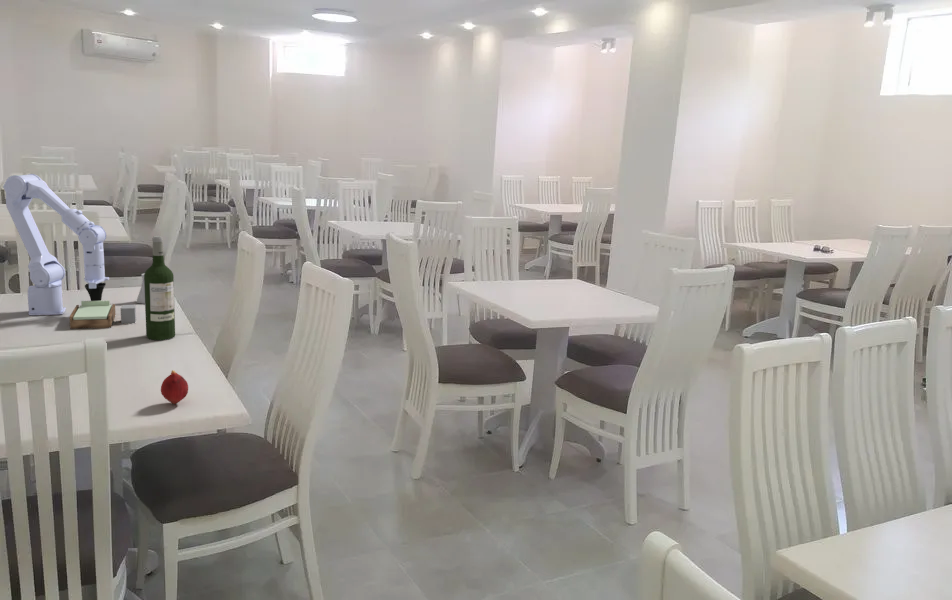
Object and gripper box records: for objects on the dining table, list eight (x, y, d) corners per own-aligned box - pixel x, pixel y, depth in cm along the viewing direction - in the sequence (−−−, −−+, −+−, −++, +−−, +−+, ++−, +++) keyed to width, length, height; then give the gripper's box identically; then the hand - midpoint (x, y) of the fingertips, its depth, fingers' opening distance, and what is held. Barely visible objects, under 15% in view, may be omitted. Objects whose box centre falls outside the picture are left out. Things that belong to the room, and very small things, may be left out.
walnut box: (70, 328, 221) (69, 316, 220) (77, 316, 235) (76, 304, 234) (110, 327, 225) (110, 315, 224) (115, 315, 238) (115, 304, 238)
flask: (153, 305, 255) (152, 276, 253) (132, 303, 255) (130, 275, 253) (162, 300, 262) (161, 272, 260) (141, 299, 262) (140, 271, 260)
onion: (193, 400, 171) (192, 367, 170) (181, 409, 166) (180, 375, 164) (168, 398, 172) (167, 365, 170) (156, 407, 166) (155, 373, 164)
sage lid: (73, 319, 221) (73, 312, 220) (80, 307, 234) (79, 300, 234) (106, 318, 224) (106, 311, 223) (111, 307, 237) (111, 300, 237)
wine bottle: (157, 342, 213) (153, 239, 207) (140, 336, 217) (136, 236, 211) (180, 336, 220) (178, 237, 213) (164, 331, 224) (161, 233, 217)
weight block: (121, 324, 230) (120, 308, 229) (122, 320, 234) (121, 305, 233) (135, 323, 231) (134, 308, 230) (136, 320, 235) (135, 304, 234)
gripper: (105, 268, 229) (108, 310, 232) (110, 260, 242) (112, 300, 245) (80, 268, 226) (82, 311, 229) (86, 260, 239) (88, 300, 242)
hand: (96, 305), depth 237 cm, fingers closed
